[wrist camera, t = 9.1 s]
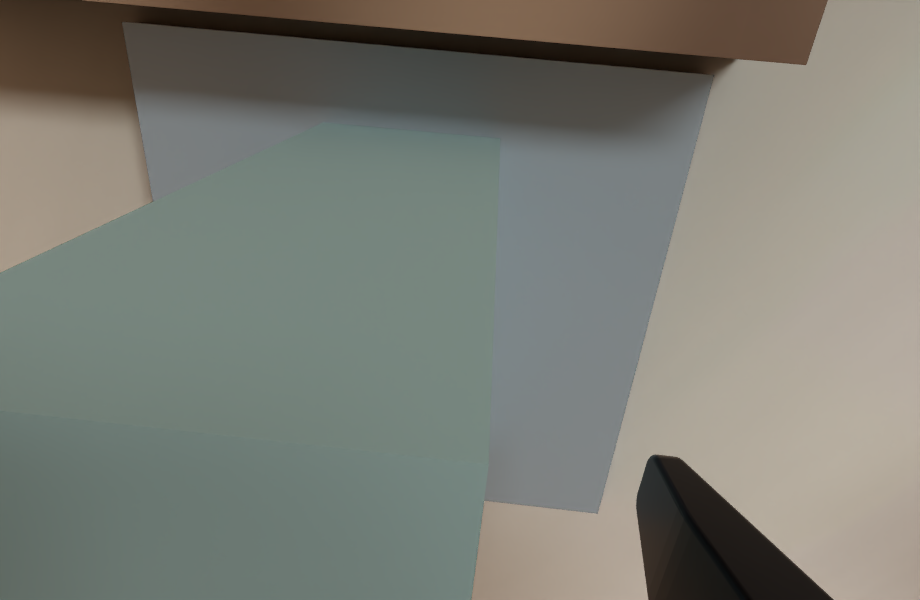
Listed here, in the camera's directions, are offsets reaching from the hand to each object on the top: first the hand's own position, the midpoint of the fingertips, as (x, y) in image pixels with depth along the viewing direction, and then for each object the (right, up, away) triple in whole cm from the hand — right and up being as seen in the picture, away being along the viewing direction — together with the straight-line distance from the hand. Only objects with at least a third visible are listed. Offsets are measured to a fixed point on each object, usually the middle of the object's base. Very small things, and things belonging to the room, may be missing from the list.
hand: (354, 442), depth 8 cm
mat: (0, +2, +4) cm, 5 cm away
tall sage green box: (0, +2, +4) cm, 4 cm away
